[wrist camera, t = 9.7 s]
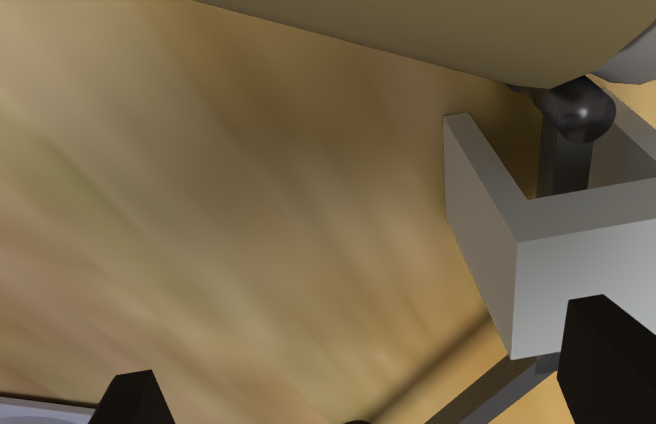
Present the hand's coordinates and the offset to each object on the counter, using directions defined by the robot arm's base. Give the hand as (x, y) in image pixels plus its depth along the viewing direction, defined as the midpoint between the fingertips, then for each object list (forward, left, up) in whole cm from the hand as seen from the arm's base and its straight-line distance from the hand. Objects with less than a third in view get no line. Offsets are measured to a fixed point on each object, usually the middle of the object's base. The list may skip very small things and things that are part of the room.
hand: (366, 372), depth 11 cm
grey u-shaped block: (+1, -7, -10) cm, 12 cm away
